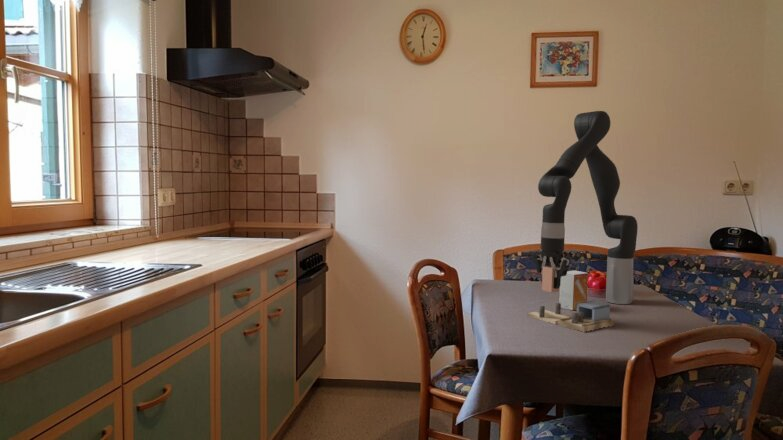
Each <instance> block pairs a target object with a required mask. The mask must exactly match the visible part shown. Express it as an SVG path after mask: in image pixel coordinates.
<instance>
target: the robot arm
mask: <svg viewBox="0 0 783 440" xmlns="http://www.w3.org/2000/svg"><path fill="white" fill-rule="evenodd" d="M573 127H574V131H575V136H576V137H577V141H576V142H574V143H573V144H571V145H570V146H569V147H568V148H566V149H565V151H564V152H563V153H562V154H561V155H560V158H559V159H558V161H557V162H556V163H555V165H553V166H552V167H551V168H550V169H549V170H548V171H546V172H545V173H544V174H543V175H542V176H541V178H540V180H539V182H538V185H537V190H538V193H539V194H540V195H541V196H542V197H546V198H554V201H553V203H548V204H545V205H544V206H543V208H542V220H541V221H542V223H541V230H540V250H541V253H540V254H535V255H534V256H533V259H534V262H535V268H536V272H537V273H540V274H541V276H542V275H543V267H546V266H551V267H552V268H553V271H554V289H558V288H559V287H560V282H561V277H562V276H566V274H567V271H569V268H570V265H571V262H572V261H571V259H569V258H565V256H564V251H565V239H566V238H565V233H566V232H565V231H566V227H565V213H566V212H565V211H566V208H567V205H568V201H569V198H570V196H571V192H572V182H571V180H570V179H573V178H574V176H575V175H576V173H577V172H578V170H579V169H580V166H581V165H582V164H583V162H584V160H585V161H586V165H587V167H588V171H589V175H590V179H591V183H592V185H593V188H594V191H595V194H596V199H597V201H598V206H599V211H600V217H601V221H602V227H603V231H604V234H605V235H606V237H608V238H609V239H615V240H619V244H618V245H617V246H614V247H610V248H609V249H608V250H607V255H606V256H607V257H606V261H607V262H606V282H605V283H606V284H605V302H607V303H610V304H611V303H612V304H615V305H616V304H617V305H629V304H630V305H631V304H632V302H634V285H635V284H634V256H635V251H636V248H637V238H638V228H639V227H638V221H637V218H636V217H635V216H633V215H629V214H628V215H625V214H618V213H617V211H616V208H615V200H616V197H617V195H618V193H619V189H620V186H621V179H620V175H619V173H618V168H617V166H616V164H615V163H614V162H613V160H611V159H610V157H608V156H607V154H605V152H603V150H601V149H600V148H599V146H598V144H599V143H600V142H602V140H603V139H604V138H605V137H606V136H607V134H608V133H609V131H610V129H611V117H610V116H609V114H608V112H606V111H604V110H594V111H587V112H581V113H578V114H577V115H576V116H575V117H574V123H573ZM556 267H558V268H556ZM557 270H558V273H557Z"/></svg>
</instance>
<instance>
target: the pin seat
mask: <svg viewBox="0 0 783 440" xmlns="http://www.w3.org/2000/svg"><path fill="white" fill-rule="evenodd" d="M545 307H546V306H544V305H539V310H537V311H532V312H527V313H526V316H527V317H529V318H533V319H536V320H540V321H543V322H545V323H546V322H547V323H551V324H553V325H558V320H561V318H566V317H571V316H569V315H567V314H562V313H561V312H562V311H561V310H562V309H561V304H560V303H559V302H556V303H555V311H550V310H547V309H545Z"/></svg>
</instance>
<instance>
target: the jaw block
mask: <svg viewBox="0 0 783 440" xmlns="http://www.w3.org/2000/svg"><path fill="white" fill-rule="evenodd" d="M556 268H558V267H556ZM557 273H558V270H557ZM541 291H544V292H548V293H557V292H560V287H559V288H558V289H554V271H553V268H552V267H551V266H546V267H543V275H542V274H541Z"/></svg>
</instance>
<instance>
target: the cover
mask: <svg viewBox="0 0 783 440" xmlns="http://www.w3.org/2000/svg"><path fill="white" fill-rule="evenodd" d="M577 312H584V318H585V317H589V316H592V322H596V321H600V320H605V319H609V318H610V316H611V303H610V304H609V303H605V302H601V301H596V300H587V302H582V303H577V309H576V313H577ZM610 319H611V318H610Z"/></svg>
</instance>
